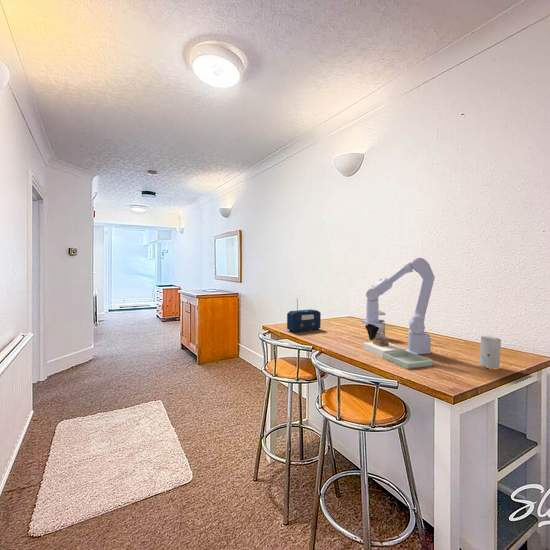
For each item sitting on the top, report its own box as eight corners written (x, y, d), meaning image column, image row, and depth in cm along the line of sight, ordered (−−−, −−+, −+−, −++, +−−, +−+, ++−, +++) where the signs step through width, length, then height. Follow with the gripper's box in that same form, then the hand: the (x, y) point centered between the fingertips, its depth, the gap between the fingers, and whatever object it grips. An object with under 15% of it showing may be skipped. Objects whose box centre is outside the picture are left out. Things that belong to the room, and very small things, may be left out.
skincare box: (478, 364, 124) (479, 335, 123) (489, 364, 124) (490, 335, 123) (489, 369, 118) (489, 338, 117) (500, 369, 117) (501, 338, 117)
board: (383, 346, 150) (383, 340, 150) (405, 355, 136) (405, 348, 136) (362, 348, 146) (363, 342, 146) (383, 357, 132) (383, 351, 132)
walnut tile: (381, 343, 146) (381, 337, 146) (388, 345, 141) (388, 340, 141) (372, 343, 145) (373, 338, 144) (379, 346, 140) (379, 341, 140)
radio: (293, 333, 180) (294, 300, 179) (286, 330, 188) (286, 298, 187) (321, 329, 190) (322, 298, 189) (313, 327, 198) (313, 297, 197)
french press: (388, 340, 164) (389, 294, 163) (366, 339, 166) (367, 294, 165) (385, 336, 174) (385, 292, 173) (364, 335, 176) (364, 292, 175)
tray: (406, 355, 136) (406, 350, 136) (433, 365, 122) (433, 360, 122) (382, 358, 132) (382, 353, 132) (407, 369, 118) (407, 363, 118)
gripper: (357, 310, 154) (356, 337, 155) (374, 315, 141) (374, 344, 141) (368, 310, 157) (368, 336, 157) (387, 314, 143) (386, 343, 143)
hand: (372, 339), depth 149 cm, fingers closed
